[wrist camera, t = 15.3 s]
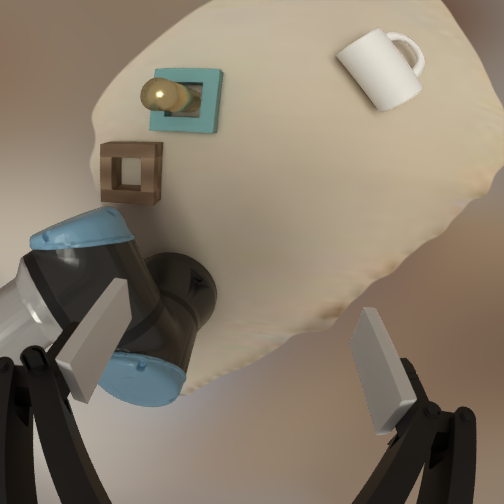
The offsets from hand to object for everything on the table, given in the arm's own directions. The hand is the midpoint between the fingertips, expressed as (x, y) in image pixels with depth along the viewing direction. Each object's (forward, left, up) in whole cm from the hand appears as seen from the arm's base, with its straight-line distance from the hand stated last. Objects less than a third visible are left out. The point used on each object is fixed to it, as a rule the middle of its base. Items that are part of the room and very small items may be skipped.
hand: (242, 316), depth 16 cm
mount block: (+1, +19, -31) cm, 36 cm away
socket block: (+12, +11, -31) cm, 35 cm away
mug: (+22, -16, -31) cm, 41 cm away
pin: (+12, +11, -31) cm, 35 cm away
